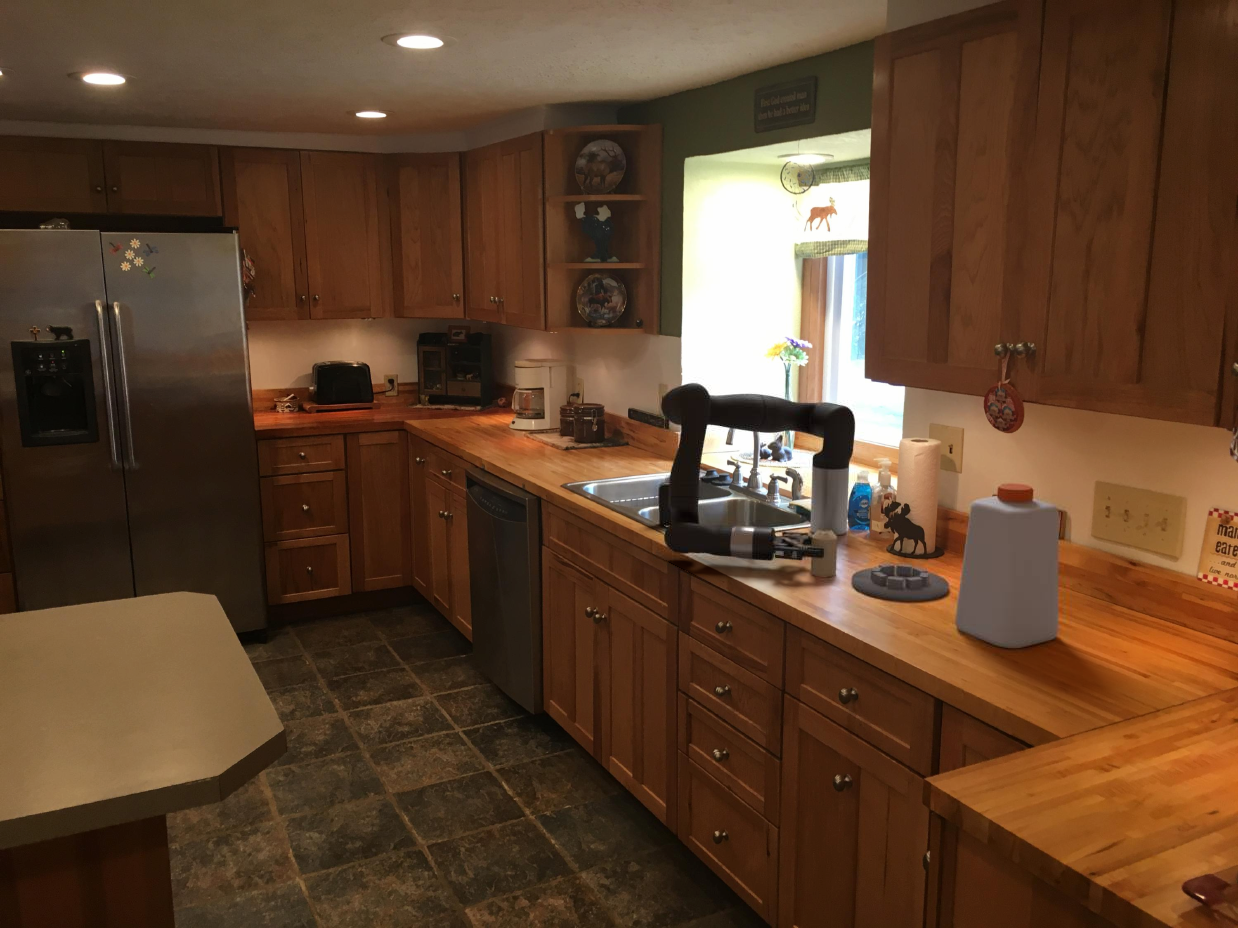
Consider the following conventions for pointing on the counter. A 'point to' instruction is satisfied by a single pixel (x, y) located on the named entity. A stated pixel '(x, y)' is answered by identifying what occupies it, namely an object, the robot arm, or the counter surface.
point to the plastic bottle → (1010, 570)
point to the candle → (828, 562)
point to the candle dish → (898, 594)
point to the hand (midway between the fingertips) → (825, 547)
